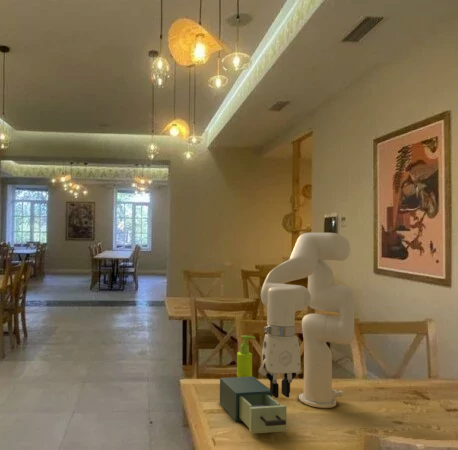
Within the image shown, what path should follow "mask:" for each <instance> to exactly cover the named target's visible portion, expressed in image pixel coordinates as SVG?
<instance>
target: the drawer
mask: <svg viewBox="0 0 458 450" xmlns="http://www.w3.org/2000/svg"><path fill="white" fill-rule="evenodd" d="M260 405H264V406H260ZM252 406H260V407H252ZM238 417H239V418H240V419H241V420H242V421H241V422H243V423H244V424H245V425H246V427H247V428H248V432H249V434H250V435H251V434H252V435H253V434H264V433H265V434H266V433H278V432H279V433H280V432H287V405H285V404H281V403H279V402H278V401H277V400H276V398H274V397H273V396H272V397H271V396H270V395H268V394H253V395H238Z"/></svg>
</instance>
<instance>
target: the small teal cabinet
mask: <svg viewBox="0 0 458 450" xmlns="http://www.w3.org/2000/svg"><path fill="white" fill-rule="evenodd" d="M253 394H268V395H270V396H271V397H272V398H273V396H272V395H271V393H270V387H268V386H267V385H265V384H264V383H263V382H262V381H260V380H259V379H257V378H256V377H254V375H252V376H251V377H237V376H231V377H220V378H219V405H220V407H222V409H224V411H225V412H226V414H228V416H230V417H231V418H232V420H233V421H234V422H235V423H239V422H243V421H242V420H241V419H240V418H239V417H238V395H253Z"/></svg>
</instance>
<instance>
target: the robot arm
mask: <svg viewBox="0 0 458 450" xmlns="http://www.w3.org/2000/svg"><path fill="white" fill-rule="evenodd" d="M350 253H351V244H350V242H349V239H348V238H347V237H345V236H344V235H342V234H339V233H337V232H313V231H312V232H311V231H310V232H304V233H302V234H300V235H299V236H298V238H297V239H296V242H295V245H294V247H293V250H292V252H291V254H290V256H289V258H288V260H285V261H284V262H282V263H280V264H278V265H276V266H275V267H274V268H272V269H271V270H270V271H269V273H267V276H266V277H265V278H264V282H263V284H262V286H261V289H260V301H261V303H262V304H263V305H264V306H265V307H267V308H266V310H267V313H266V314H267V315H266V319H267V321H266V325H265V326H263V327H262V331H263V333H266V334H264V338H263V343H262V348H261V365H260V366H259V369H258V374H260V375H261V376H264V377H265V378H267V379H268V381H269V389H270V393H271V395H272V397H273V398H274V399H278V398H279V390H280V389H279V388H280V385H279V383H278V374H283V375H282V377H283V379H281V395H283V396H284V397H285V398H290V393H291V383H293V380H294V378H295V377H296V376H298V375H299V374H301V373H303V392H301V393H300V394H299V395H298V399H299V401H300V402H301V403H302V404H304V405H307V406H309V407H312V408H319V409H331V408H334V407H336V406H337V400H336V398H337V397H340V398H341V397H344V396H345V392H344V391H343V390H336V389H333V354H332V351H331V349H330V347H329V345H328V344H327V343H330V344H339V345H350V344H351V343H353V340H354V336H355V310H356V309H355V307H356V306H355V304H356V303H355V294H354V291H353V290H352V289H351V287H349V286H345V285H338V284H334V283H333V281H334V280H333V278H334V272H333V269H332V268H331V265H330V264H329V263H328V262H327V261H339V262H340V261H341V262H342V261H345V260H347V259H348V258H349V256H350ZM305 278H307V287H305V286H304V285H301V284H300V285H299V284H289V283H290V282H293V281H298V280H302V279H305ZM308 307H309V308H311V309H312V310H316V311H324V312H331V313H332V312H333V313H338V314H339V315H330V314H324V313H308V314H305V315H304V316H302V317H303V318H302V320H301V332H302V337H303V338H302V339H303V370H302V366H301V363H302V361H301V359H302V358H301V349H300V342H299V338H298V336H297V335H295V330H296V329H295V326H296V325H295V324H296V318H295V317H296V311H297V312H300V311H304V310H306V309H307V308H308Z"/></svg>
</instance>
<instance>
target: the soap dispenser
mask: <svg viewBox="0 0 458 450" xmlns="http://www.w3.org/2000/svg"><path fill="white" fill-rule="evenodd" d="M241 339H242V343H240V347H239V348H240V351H237V353H236V377H251V376H253V353H252V352H250V344H249V343H248V339H251V340H255V339H256V337H255V336H253V335H241Z"/></svg>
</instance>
